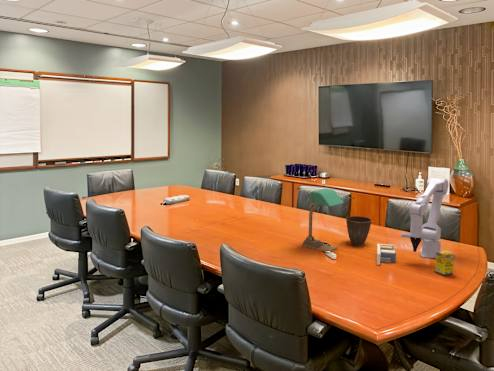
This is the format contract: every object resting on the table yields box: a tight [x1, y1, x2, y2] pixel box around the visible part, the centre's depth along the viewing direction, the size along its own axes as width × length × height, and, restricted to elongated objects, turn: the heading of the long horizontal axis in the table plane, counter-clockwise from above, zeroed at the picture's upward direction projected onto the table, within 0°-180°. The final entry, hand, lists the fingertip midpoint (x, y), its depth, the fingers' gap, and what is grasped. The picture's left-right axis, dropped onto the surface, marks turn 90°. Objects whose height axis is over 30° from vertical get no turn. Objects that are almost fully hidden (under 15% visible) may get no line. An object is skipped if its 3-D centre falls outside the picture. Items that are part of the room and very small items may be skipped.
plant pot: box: [345, 215, 373, 247], centre depth 261 cm, size 15×15×16 cm
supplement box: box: [434, 249, 455, 277], centre depth 213 cm, size 6×6×11 cm
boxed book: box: [380, 249, 397, 263], centre depth 232 cm, size 8×4×6 cm, turn 75°
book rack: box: [376, 243, 395, 266], centre depth 233 cm, size 9×19×6 cm, turn 164°
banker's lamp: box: [301, 188, 344, 253], centre depth 252 cm, size 16×21×35 cm
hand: (414, 251), depth 228 cm, fingers closed
